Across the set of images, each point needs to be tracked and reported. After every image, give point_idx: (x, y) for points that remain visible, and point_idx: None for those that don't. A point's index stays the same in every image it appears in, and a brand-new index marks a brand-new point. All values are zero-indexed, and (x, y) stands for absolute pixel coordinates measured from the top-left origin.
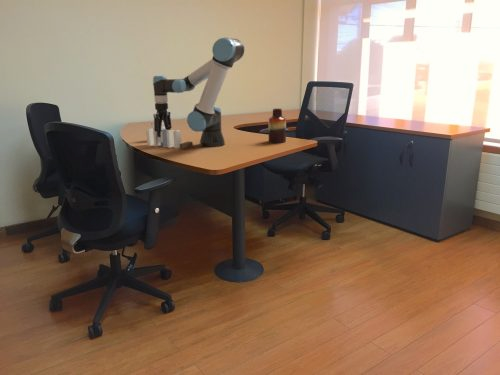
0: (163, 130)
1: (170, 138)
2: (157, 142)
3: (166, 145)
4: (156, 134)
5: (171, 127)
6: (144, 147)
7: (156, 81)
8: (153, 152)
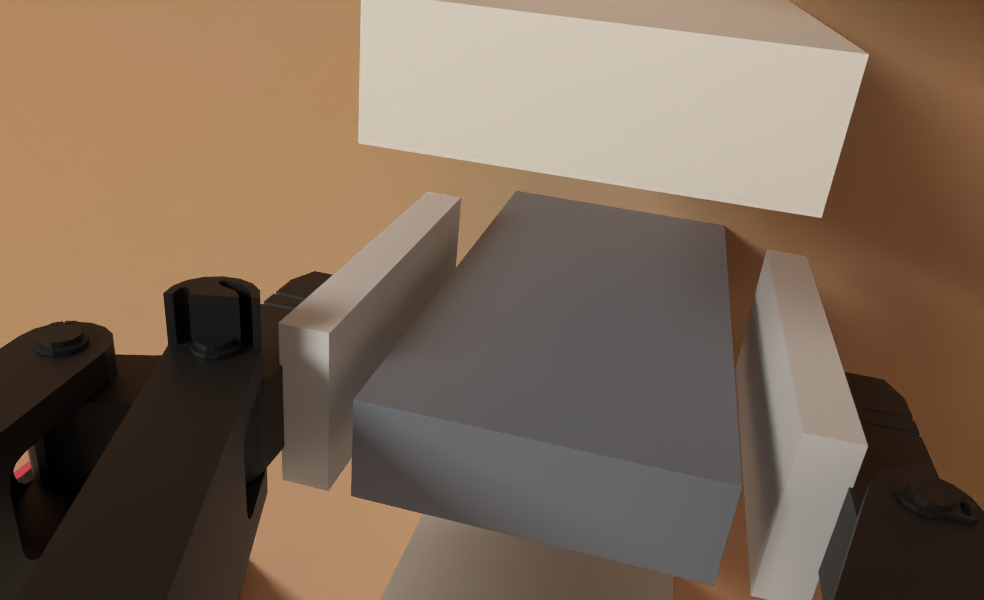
0: (606, 443)
1: (717, 4)
2: None
3: (572, 203)
4: (614, 594)
5: (42, 327)
6: None
7: None
8: None
